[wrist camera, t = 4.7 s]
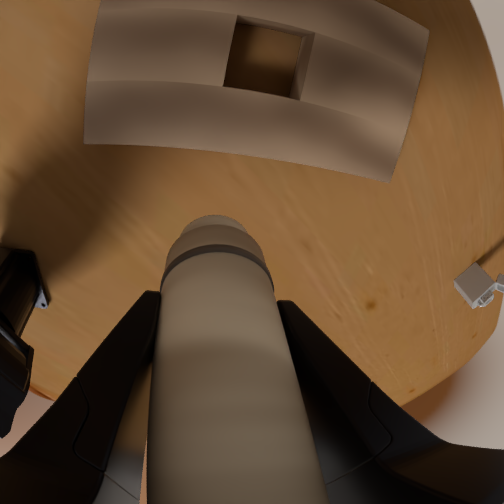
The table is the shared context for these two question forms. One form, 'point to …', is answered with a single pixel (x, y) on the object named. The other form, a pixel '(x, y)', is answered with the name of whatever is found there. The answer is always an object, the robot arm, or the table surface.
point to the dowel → (225, 381)
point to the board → (249, 101)
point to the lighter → (478, 286)
